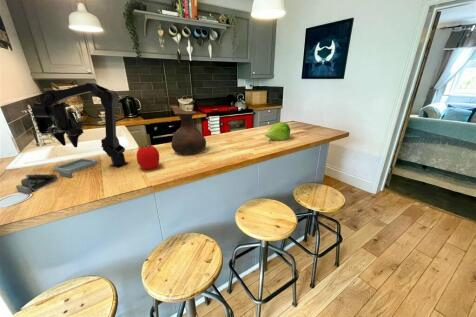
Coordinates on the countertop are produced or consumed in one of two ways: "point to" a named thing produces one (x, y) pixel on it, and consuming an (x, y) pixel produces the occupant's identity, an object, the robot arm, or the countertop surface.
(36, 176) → the dark piece
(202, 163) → the countertop surface
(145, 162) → the red apple
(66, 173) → the bay rails
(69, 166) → the tray
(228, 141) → the countertop surface
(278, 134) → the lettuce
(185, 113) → the dark brown vase
